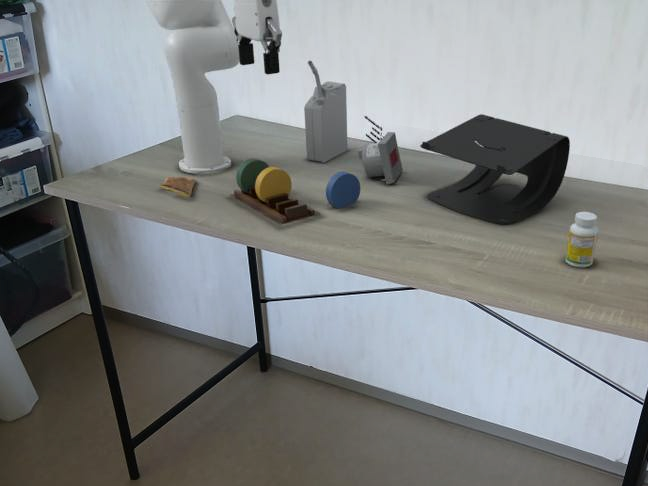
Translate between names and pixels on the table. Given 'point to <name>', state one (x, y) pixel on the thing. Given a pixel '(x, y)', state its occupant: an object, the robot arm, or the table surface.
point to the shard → (179, 185)
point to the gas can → (326, 120)
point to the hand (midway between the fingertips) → (259, 68)
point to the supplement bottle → (582, 240)
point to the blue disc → (343, 189)
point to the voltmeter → (381, 156)
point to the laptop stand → (501, 168)
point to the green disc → (249, 173)
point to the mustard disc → (272, 183)
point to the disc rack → (276, 206)
